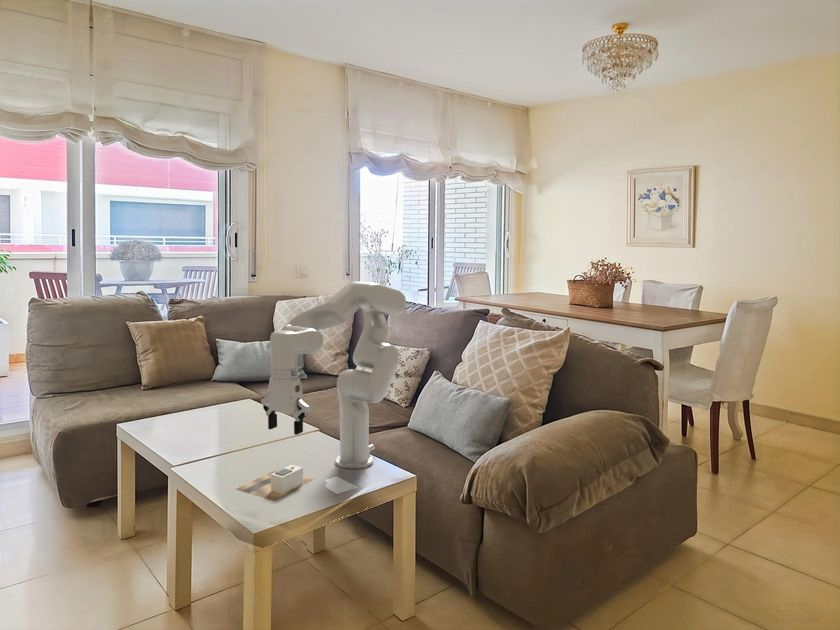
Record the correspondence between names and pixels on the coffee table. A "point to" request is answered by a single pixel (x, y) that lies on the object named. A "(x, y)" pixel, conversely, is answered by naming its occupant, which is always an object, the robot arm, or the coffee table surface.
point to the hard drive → (338, 485)
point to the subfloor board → (266, 487)
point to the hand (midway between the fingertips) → (285, 430)
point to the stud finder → (286, 479)
